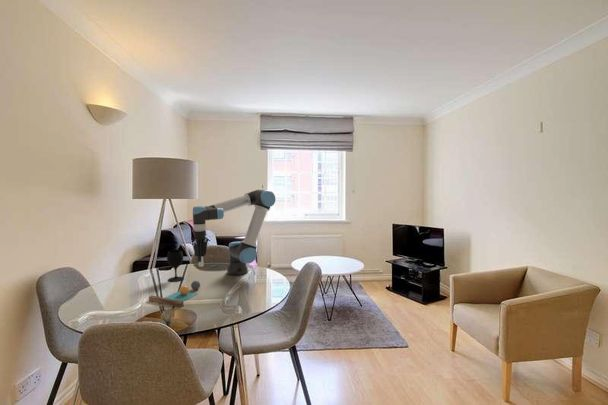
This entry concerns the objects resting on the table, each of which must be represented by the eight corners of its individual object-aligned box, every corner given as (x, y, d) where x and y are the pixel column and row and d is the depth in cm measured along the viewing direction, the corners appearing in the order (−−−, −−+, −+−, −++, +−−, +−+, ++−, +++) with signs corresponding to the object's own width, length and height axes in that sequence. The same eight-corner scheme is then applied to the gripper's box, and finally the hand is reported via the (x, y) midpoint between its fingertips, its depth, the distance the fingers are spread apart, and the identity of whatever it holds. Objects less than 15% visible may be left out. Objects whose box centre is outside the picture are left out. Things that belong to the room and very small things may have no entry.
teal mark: (180, 290, 195) (180, 290, 195) (198, 294, 190) (198, 293, 190) (162, 298, 183) (162, 298, 183) (180, 302, 177) (180, 302, 177)
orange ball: (184, 284, 192) (177, 286, 187) (191, 285, 190) (184, 287, 185) (183, 292, 192) (177, 295, 187) (190, 294, 190) (184, 296, 185)
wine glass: (178, 282, 210) (177, 253, 209) (164, 281, 213) (163, 252, 211) (187, 277, 221) (186, 249, 219) (173, 276, 223) (172, 249, 221)
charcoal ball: (191, 279, 197) (188, 287, 195) (198, 280, 195) (195, 289, 193) (196, 280, 202) (193, 289, 200) (203, 282, 200) (199, 291, 198)
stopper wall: (152, 299, 182) (151, 295, 182) (183, 306, 172) (183, 301, 172) (149, 300, 180) (148, 296, 180) (180, 307, 171) (180, 303, 170)
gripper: (202, 228, 207) (203, 262, 209) (187, 231, 195) (189, 268, 197) (211, 228, 204) (212, 264, 206) (197, 232, 192) (198, 269, 194)
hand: (201, 266), depth 202 cm, fingers closed
